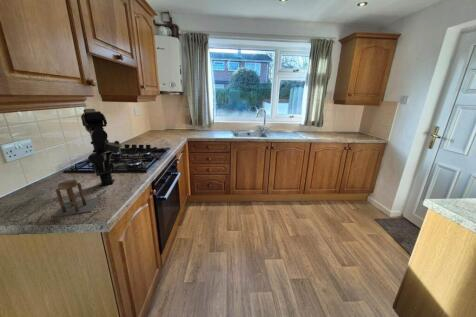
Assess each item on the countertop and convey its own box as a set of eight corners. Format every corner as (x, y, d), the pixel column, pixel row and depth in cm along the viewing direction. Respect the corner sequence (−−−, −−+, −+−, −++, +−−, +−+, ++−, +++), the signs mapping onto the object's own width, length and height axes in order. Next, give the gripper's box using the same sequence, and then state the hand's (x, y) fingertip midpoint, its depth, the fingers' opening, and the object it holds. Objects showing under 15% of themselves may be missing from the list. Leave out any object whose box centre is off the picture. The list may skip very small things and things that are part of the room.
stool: (72, 204, 94) (64, 180, 90) (87, 204, 94) (80, 179, 90) (62, 212, 88) (53, 186, 84) (77, 212, 88) (69, 186, 84)
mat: (65, 203, 96) (65, 202, 96) (99, 198, 100) (99, 197, 100) (52, 217, 85) (52, 216, 85) (91, 211, 89) (91, 210, 89)
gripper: (112, 141, 91) (119, 173, 96) (121, 133, 108) (127, 161, 113) (83, 143, 88) (92, 176, 93) (97, 135, 105) (104, 163, 110)
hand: (105, 168), depth 102 cm, fingers open, 9 cm apart
